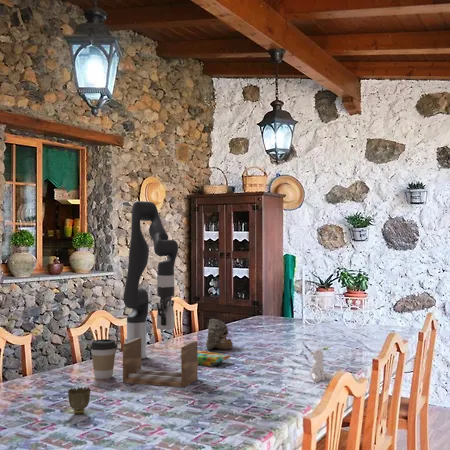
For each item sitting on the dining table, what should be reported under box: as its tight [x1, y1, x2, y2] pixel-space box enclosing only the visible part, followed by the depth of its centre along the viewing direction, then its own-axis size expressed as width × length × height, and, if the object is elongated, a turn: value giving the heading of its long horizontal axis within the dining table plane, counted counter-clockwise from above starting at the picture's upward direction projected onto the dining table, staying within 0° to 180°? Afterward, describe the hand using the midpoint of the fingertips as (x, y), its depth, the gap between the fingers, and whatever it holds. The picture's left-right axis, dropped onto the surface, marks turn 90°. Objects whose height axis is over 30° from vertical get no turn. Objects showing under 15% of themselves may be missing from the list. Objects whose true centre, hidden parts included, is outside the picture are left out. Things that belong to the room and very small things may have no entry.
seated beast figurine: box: [309, 349, 334, 383], centre depth 251 cm, size 10×9×12 cm
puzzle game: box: [180, 349, 231, 367], centre depth 282 cm, size 12×5×20 cm
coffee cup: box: [89, 338, 118, 380], centre depth 255 cm, size 11×11×15 cm
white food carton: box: [156, 306, 175, 331], centre depth 267 cm, size 4×7×10 cm, turn 71°
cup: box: [67, 386, 91, 415], centre depth 205 cm, size 8×7×8 cm
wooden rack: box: [122, 338, 199, 388], centre depth 249 cm, size 27×14×16 cm, turn 72°
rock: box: [205, 317, 234, 351], centre depth 316 cm, size 18×14×15 cm
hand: (165, 324), depth 267 cm, fingers closed on white food carton, 3 cm apart
